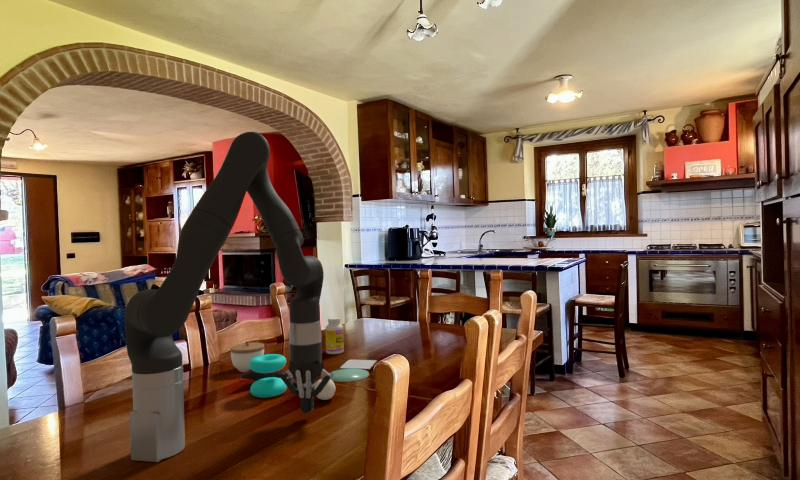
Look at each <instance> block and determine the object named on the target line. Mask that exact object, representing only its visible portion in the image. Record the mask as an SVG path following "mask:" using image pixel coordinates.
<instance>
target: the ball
mask: <svg viewBox="0 0 800 480" xmlns="http://www.w3.org/2000/svg"><path fill="white" fill-rule="evenodd" d="M321 381H322V380H321V378H320V379H317V380H316V384H315V389H316V388H317V387H318V385H319V384H320V382H321ZM334 382H335V381H332V380H331V379H330V380H329V382H328V383H327V384H326V386H325V387H324V388H323V390H322V391H321V392H320V393H319V394H318V395H317V396H316V397H317V398H318V399H319V400H321V401H327V400H330V399H331V398H332V397H334V395H335V393H336V389H337V388H336V385H335V383H334Z"/></svg>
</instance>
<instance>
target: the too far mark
mask: <svg viewBox="0 0 800 480" xmlns="http://www.w3.org/2000/svg"><path fill="white" fill-rule="evenodd" d="M377 361H378V360H377V359H348V360H347V361H346V362H344V363H343V364H342V365H341V366H340V367H339V369H362V370H370V369H371V368H372V367H373V366H374V365H375V364H376V363H377Z"/></svg>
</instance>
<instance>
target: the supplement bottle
mask: <svg viewBox="0 0 800 480" xmlns="http://www.w3.org/2000/svg"><path fill="white" fill-rule="evenodd" d="M341 319H342V318H341V317H339V316H334V317H333V316H332V317H328V318H327V322H328V323H327V325H326V326H325V327H324V328H325V329H324V330H325V353H326V354H328V355H339V354H342V353H344V351H345V350H344V348H345V347H344V346H345V344H344V337H345V336H344V325H342V323H341Z"/></svg>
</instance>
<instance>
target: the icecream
mask: <svg viewBox="0 0 800 480" xmlns="http://www.w3.org/2000/svg"><path fill="white" fill-rule="evenodd" d="M282 373H283V372H281V371H280V370H279V371H276V372H272V373H257V372H254V371H253V370H252V369H250V370H248V371H246V372H242V373H241V374H240V375H239V376H238V378H240V379H243V380H244V379H245V380H249V381H254V382H256V381H258V380H260V379H263V378H269V377H276V378H280V375H281V374H282Z"/></svg>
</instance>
